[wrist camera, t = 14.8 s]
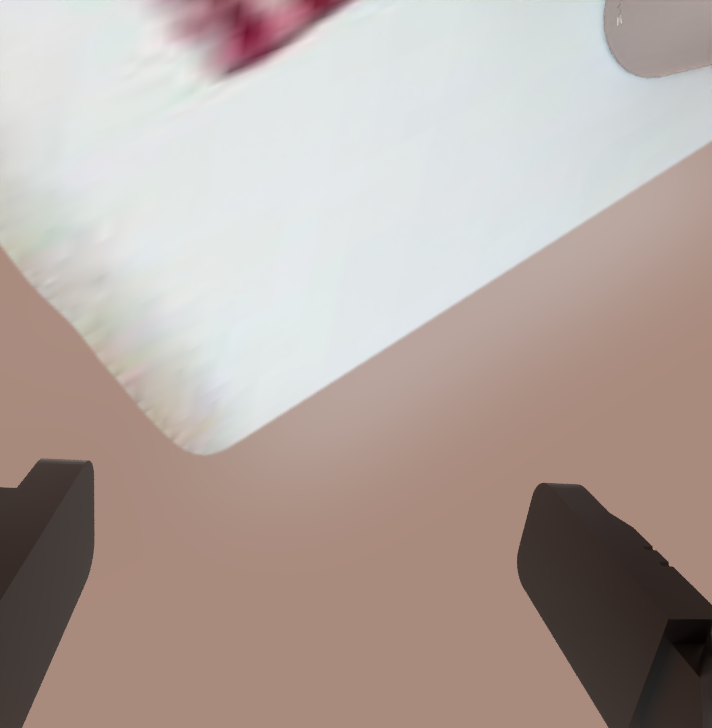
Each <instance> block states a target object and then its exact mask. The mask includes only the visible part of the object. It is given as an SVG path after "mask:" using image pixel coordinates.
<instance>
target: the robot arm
mask: <svg viewBox="0 0 712 728" xmlns="http://www.w3.org/2000/svg"><path fill="white" fill-rule="evenodd" d="M604 30H605V35H606V40H607V44H608V46H609V48H610V51H611V53H612V55H613V56H614V58H615V59H616V61H617V62H618V64H620V65H621V66H622V67H623V68H624V69H625V70H626V71H628V72H630V73H632V74H634V75H636V76H639V77H644V78H658V77H662V76H667V75H671V74H675V73H679V72H683V71H687V70H691V69H696V68H700V67H704V66H708V65H712V0H606V4H605V11H604ZM93 551H94V470H93V465H92V463H91V461H86V460H65V459H64V460H63V459H40V460H39V461H38V462H37V463H36V464H35V466H34V467H33V468H32V469H31V471H30V472H29V473H28V475H27V476H26V477H25V478H24V480H23V481H22V482H21V483H20V485H19V486H18V487H17V488H2V487H0V728H22V726H23V724H24V722H25V720H26V717H27V715H28V713H29V710H30V708H31V706H32V703H33V701H34V699H35V697H36V695H37V692H38V690H39V688H40V685H41V683H42V681H43V679H44V676H45V674H46V671H47V670H48V667H49V665H50V663H51V660H52V658H53V656H54V654H55V651H56V649H57V647H58V645H59V642H60V640H61V638H62V635H63V633H64V630H65V629H66V626H67V624H68V622H69V620H70V617H71V615H72V613H73V610H74V608H75V606H76V604H77V601H78V599H79V597H80V595H81V592H82V590H83V588H84V585H85V583H86V581H87V578H88V575H89V572H90V568H91V564H92V559H93ZM517 568H518V574H519V578H520V581H521V584H522V586H523V588H524V590H525V591H526V592H527V594H528V596H529V598H530V599H531V601H532V603H533V604H534V606H535V608H536V609H537V611H538V612H539V614H540V616H541V617H542V619H543V621H544V622H545V624H546V626H547V627H548V629H549V630H550V632H551V634H552V635H553V637H554V639H555V640H556V642H557V644H558V645H559V647H560V649H561V650H562V652H563V653H564V655H565V657H566V658H567V660H568V662H569V663H570V665H571V667H572V668H573V670H574V672H575V673H576V675H577V676H578V678H579V680H580V681H581V683H582V684H583V686H584V688H585V689H586V691H587V693H588V694H589V696H590V698H591V699H592V701H593V703H594V704H595V706H596V708H597V709H598V711H599V713H600V714H601V716H602V717H603V719H604V721H605V722H606V724H607V726H608V727H609V728H712V605H711V604H710V603H709V602H708V601H707V600H706V599H705V598H704V597H703V596H702V595H701V594H700V593H699V592H698V591H697V590H696V589H695V588H694V587H693V586H692V585H691V584H690V583H689V582H688V581H687V580H686V579H685V578H684V577H683V576H682V575H681V574H680V573H679V572H678V571H677V570H676V569H675V568H674V567H669V565H668V561H667V560H666V559H665V558H664V557H662V555H661V554H660V553H658V552H657V551H655V550H653V549H652V546H651V545H650V544H649V543H648V542H647V541H646V540H645V539H644V538H643V537H642V536H641V535H640V534H639V533H638V532H637V531H636V530H635V529H634V528H633V527H631V526H630V525H628V524H626V523H625V522H623V521H622V520H620V519H619V518H617V517H615V516H613V515H612V514H610V513H609V512H608V511H607V510H606V509H605V508H604V507H603V506H602V505H601V504H600V503H599V502H598V501H597V500H596V499H595V498H594V497H593V496H592V495H591V494H590V493H589V492H588V491H587V490H586V489H585V488H584V487H583V486H581V485H578V484H556V483H541V484H539V485H538V486H537V487H536V489H535V491H534V493H533V496H532V500H531V503H530V507H529V511H528V515H527V519H526V523H525V527H524V530H523V534H522V538H521V542H520V546H519V550H518V556H517Z"/></svg>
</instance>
